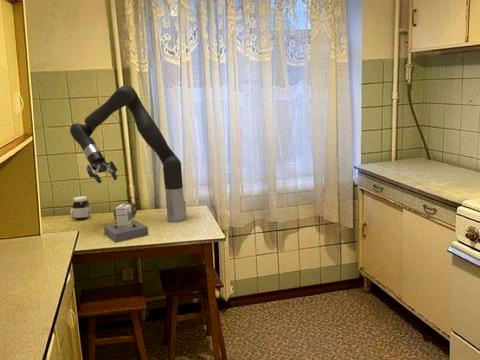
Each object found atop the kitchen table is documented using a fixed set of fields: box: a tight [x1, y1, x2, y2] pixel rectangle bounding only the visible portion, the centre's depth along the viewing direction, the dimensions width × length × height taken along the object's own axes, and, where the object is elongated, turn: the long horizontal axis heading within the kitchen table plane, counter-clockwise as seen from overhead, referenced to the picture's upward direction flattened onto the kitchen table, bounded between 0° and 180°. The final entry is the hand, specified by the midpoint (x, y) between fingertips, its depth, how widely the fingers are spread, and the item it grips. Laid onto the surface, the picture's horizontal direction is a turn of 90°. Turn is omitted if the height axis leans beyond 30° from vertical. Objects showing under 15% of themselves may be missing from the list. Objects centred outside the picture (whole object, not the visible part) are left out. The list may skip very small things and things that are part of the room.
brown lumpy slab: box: [113, 202, 138, 222], centre depth 269 cm, size 15×3×8 cm, turn 148°
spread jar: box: [70, 195, 92, 221], centre depth 276 cm, size 12×11×12 cm
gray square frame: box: [103, 219, 149, 243], centre depth 244 cm, size 16×16×4 cm
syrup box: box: [114, 203, 134, 231], centre depth 243 cm, size 6×6×14 cm
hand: (108, 180), depth 247 cm, fingers open, 8 cm apart
